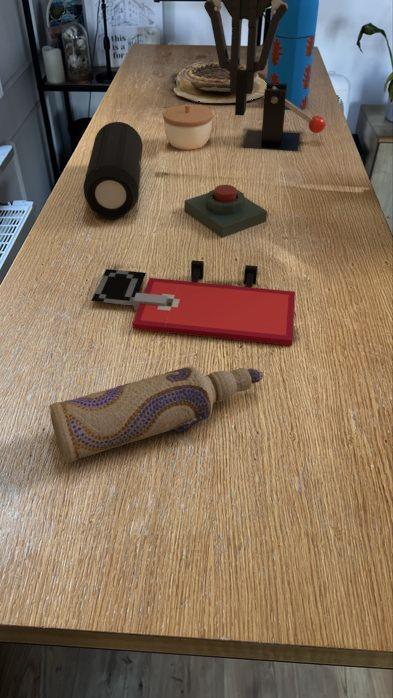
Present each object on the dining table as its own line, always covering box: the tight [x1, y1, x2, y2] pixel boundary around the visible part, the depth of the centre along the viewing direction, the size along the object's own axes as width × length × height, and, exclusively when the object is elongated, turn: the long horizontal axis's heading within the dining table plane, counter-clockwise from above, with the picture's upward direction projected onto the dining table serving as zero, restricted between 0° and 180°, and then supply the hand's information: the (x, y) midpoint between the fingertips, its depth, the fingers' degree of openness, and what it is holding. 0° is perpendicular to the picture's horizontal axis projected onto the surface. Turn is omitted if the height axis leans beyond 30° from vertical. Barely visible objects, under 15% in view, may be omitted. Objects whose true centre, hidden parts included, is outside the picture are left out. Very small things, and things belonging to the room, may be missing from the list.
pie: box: [172, 60, 267, 104], centre depth 162 cm, size 28×27×5 cm
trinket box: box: [162, 104, 213, 150], centre depth 129 cm, size 11×11×9 cm
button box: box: [183, 189, 268, 239], centre depth 108 cm, size 12×10×4 cm
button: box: [213, 184, 238, 203], centre depth 106 cm, size 4×4×2 cm
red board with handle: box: [90, 259, 296, 346], centre depth 88 cm, size 30×3×15 cm
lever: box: [272, 86, 326, 134], centre depth 127 cm, size 14×4×4 cm, turn 79°
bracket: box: [242, 83, 301, 152], centre depth 129 cm, size 12×10×13 cm
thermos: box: [266, 0, 320, 111], centre depth 144 cm, size 11×11×25 cm
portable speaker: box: [82, 121, 144, 220], centre depth 113 cm, size 26×10×10 cm, turn 2°
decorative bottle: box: [49, 365, 264, 463], centre depth 69 cm, size 26×8×7 cm, turn 112°
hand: (240, 112), depth 101 cm, fingers closed
